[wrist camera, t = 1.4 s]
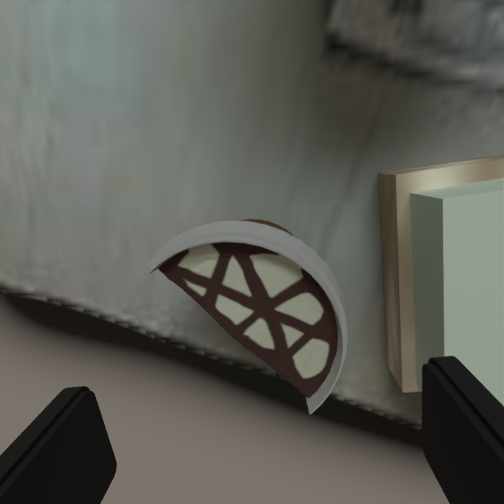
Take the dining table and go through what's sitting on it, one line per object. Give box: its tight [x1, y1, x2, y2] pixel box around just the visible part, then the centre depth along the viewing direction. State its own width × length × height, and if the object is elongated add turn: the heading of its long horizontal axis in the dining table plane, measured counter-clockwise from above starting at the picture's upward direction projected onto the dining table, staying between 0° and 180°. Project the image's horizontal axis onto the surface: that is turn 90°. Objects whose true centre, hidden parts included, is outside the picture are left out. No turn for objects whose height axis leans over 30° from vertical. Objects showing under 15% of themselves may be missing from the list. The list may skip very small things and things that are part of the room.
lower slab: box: [378, 155, 504, 393], centre depth 22 cm, size 12×16×4 cm
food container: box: [146, 219, 348, 414], centre depth 20 cm, size 12×6×10 cm, turn 47°
